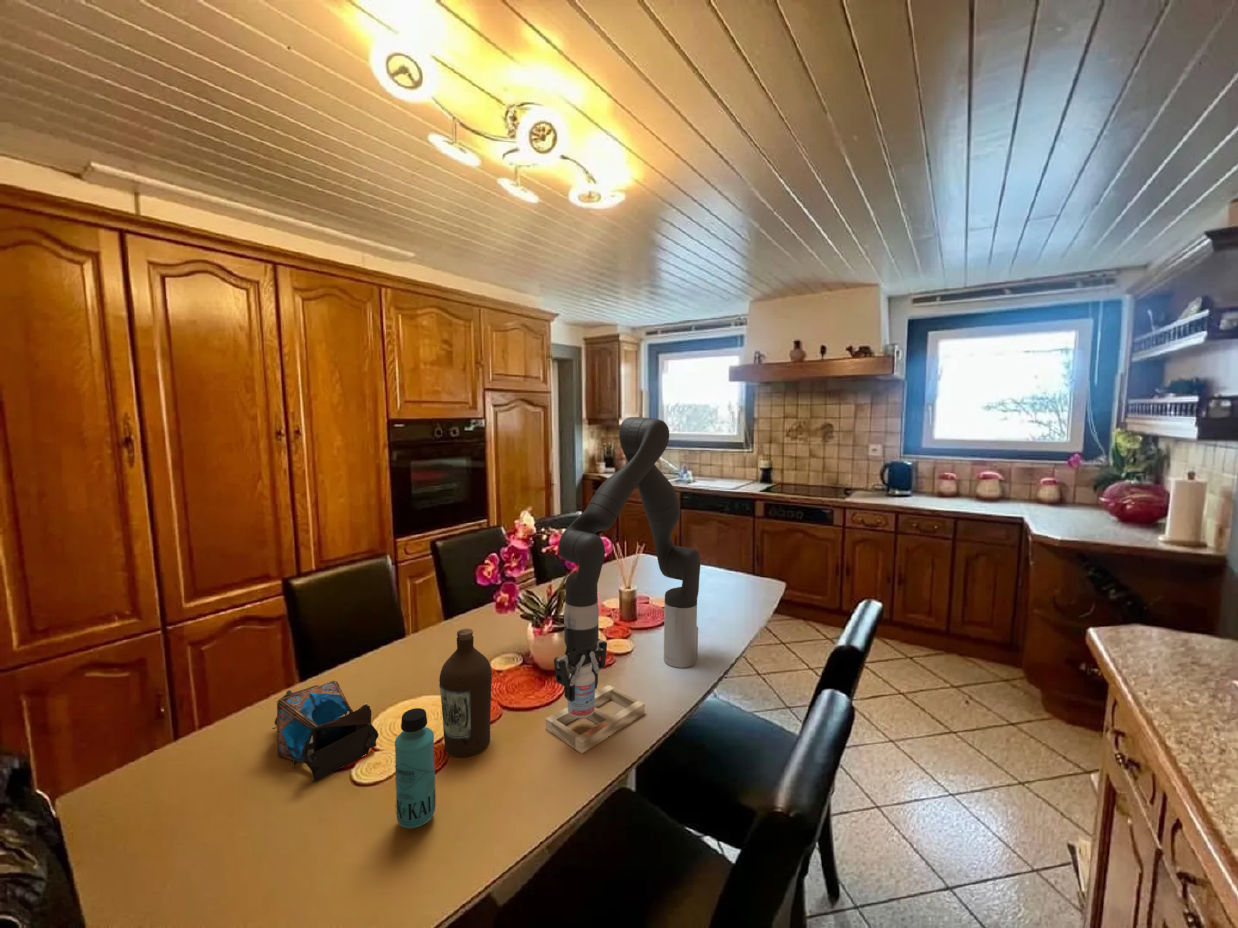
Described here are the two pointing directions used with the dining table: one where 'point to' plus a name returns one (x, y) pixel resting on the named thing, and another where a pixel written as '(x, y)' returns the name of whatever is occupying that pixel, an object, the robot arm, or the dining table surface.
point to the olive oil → (466, 698)
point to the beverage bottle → (415, 770)
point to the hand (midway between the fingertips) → (581, 693)
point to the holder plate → (596, 720)
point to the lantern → (322, 729)
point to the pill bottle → (583, 693)
